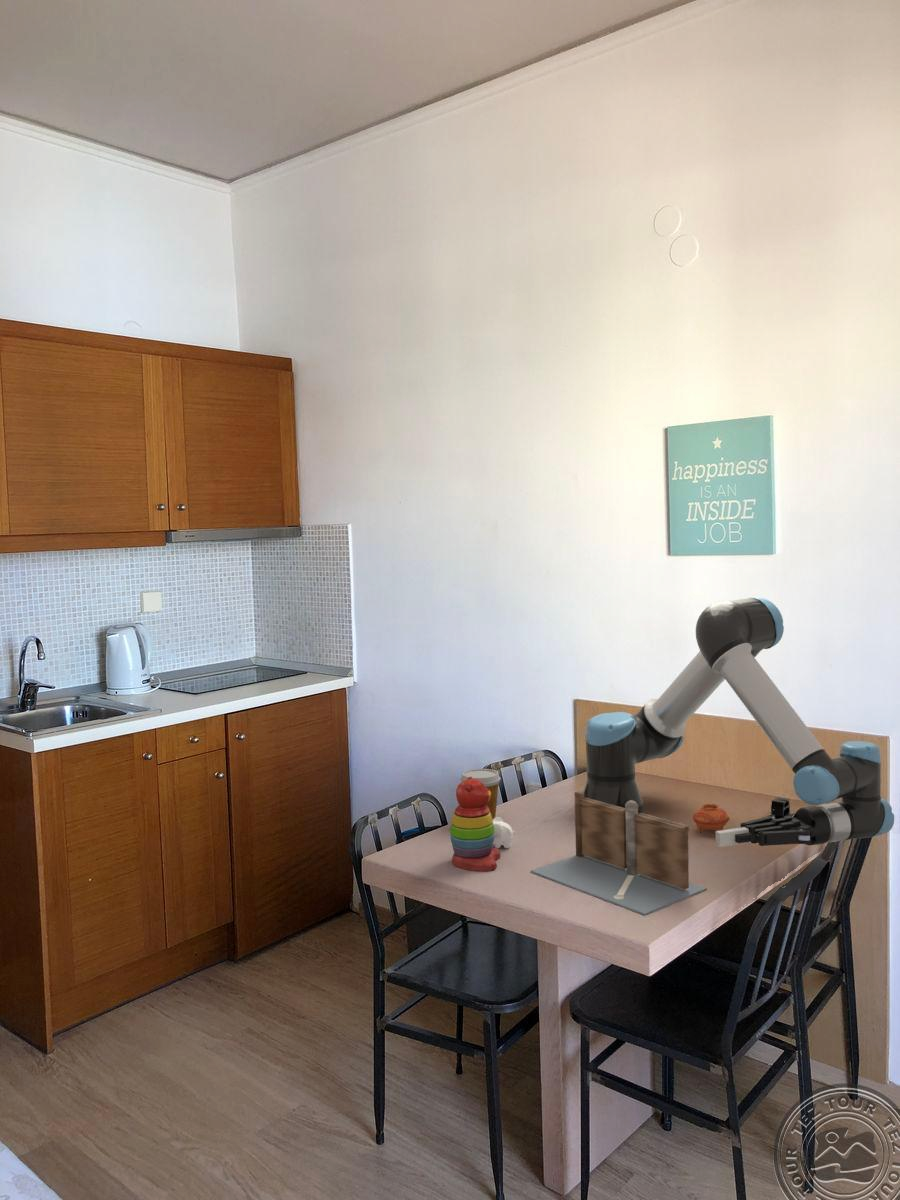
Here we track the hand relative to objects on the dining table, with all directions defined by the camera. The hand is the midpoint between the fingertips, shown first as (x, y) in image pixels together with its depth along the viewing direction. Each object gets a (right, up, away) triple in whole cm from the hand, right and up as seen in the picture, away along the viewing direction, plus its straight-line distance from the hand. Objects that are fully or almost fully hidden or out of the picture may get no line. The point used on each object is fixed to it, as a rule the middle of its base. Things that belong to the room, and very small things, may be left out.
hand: (717, 839), depth 192 cm
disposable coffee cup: (-45, -7, +42) cm, 62 cm away
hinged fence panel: (-11, -8, -1) cm, 14 cm away
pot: (+7, -6, +30) cm, 32 cm away
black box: (+26, -5, +40) cm, 48 cm away
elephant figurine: (-41, -8, +25) cm, 49 cm away
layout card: (-20, -9, +2) cm, 22 cm away
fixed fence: (-20, -8, +11) cm, 24 cm away
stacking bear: (-47, -9, +15) cm, 50 cm away
